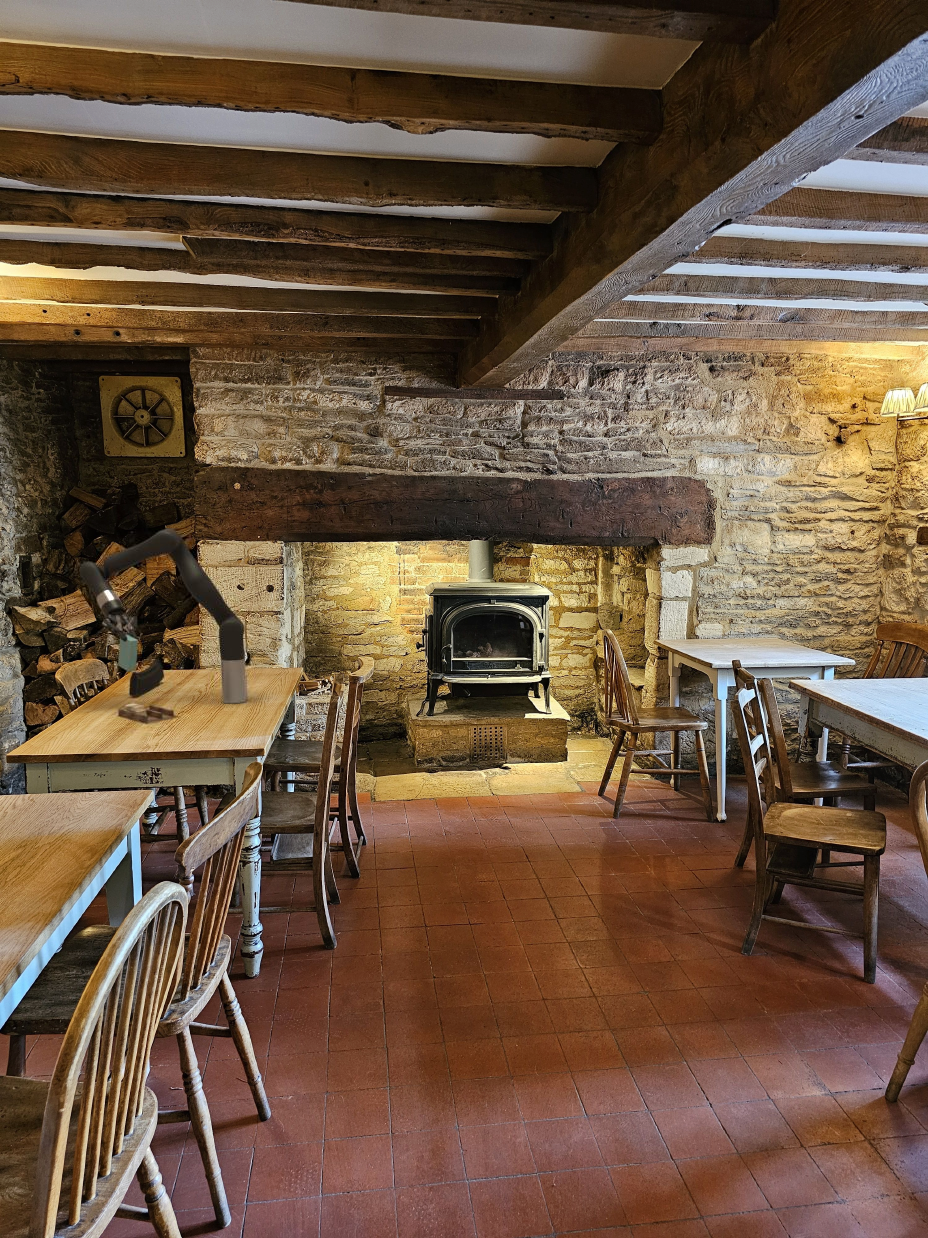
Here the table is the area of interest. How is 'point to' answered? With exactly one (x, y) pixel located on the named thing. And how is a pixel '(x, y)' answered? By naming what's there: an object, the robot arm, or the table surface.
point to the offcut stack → (136, 709)
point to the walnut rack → (149, 715)
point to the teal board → (128, 653)
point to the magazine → (146, 679)
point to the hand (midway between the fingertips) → (130, 639)
